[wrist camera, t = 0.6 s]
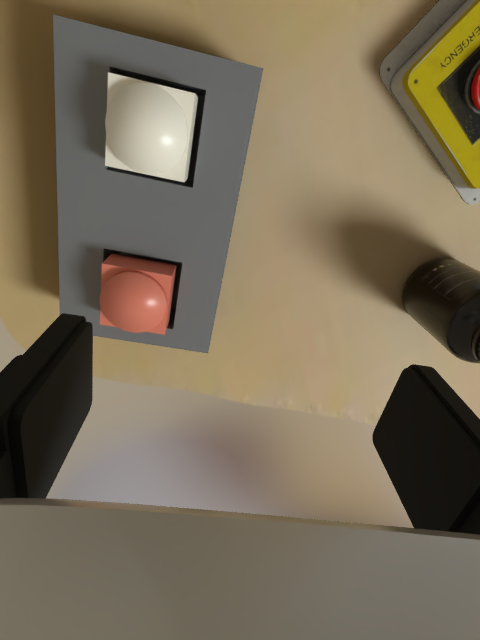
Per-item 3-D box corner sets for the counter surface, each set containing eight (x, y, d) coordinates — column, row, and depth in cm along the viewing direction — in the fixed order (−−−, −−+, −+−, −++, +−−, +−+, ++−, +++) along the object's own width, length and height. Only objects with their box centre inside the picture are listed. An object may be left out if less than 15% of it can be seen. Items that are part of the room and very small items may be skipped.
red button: (111, 253, 29) (99, 266, 26) (176, 265, 29) (171, 278, 26) (109, 310, 31) (97, 328, 28) (169, 320, 32) (163, 338, 29)
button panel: (82, 35, 26) (52, 14, 21) (257, 79, 27) (263, 68, 23) (81, 306, 35) (60, 330, 31) (210, 327, 37) (207, 353, 33)
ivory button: (119, 78, 23) (105, 70, 21) (198, 97, 24) (194, 92, 21) (115, 163, 26) (102, 166, 23) (187, 178, 26) (182, 183, 23)
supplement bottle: (471, 304, 37) (571, 372, 26) (406, 327, 38) (477, 402, 27) (464, 244, 34) (574, 293, 23) (394, 271, 35) (468, 329, 24)
